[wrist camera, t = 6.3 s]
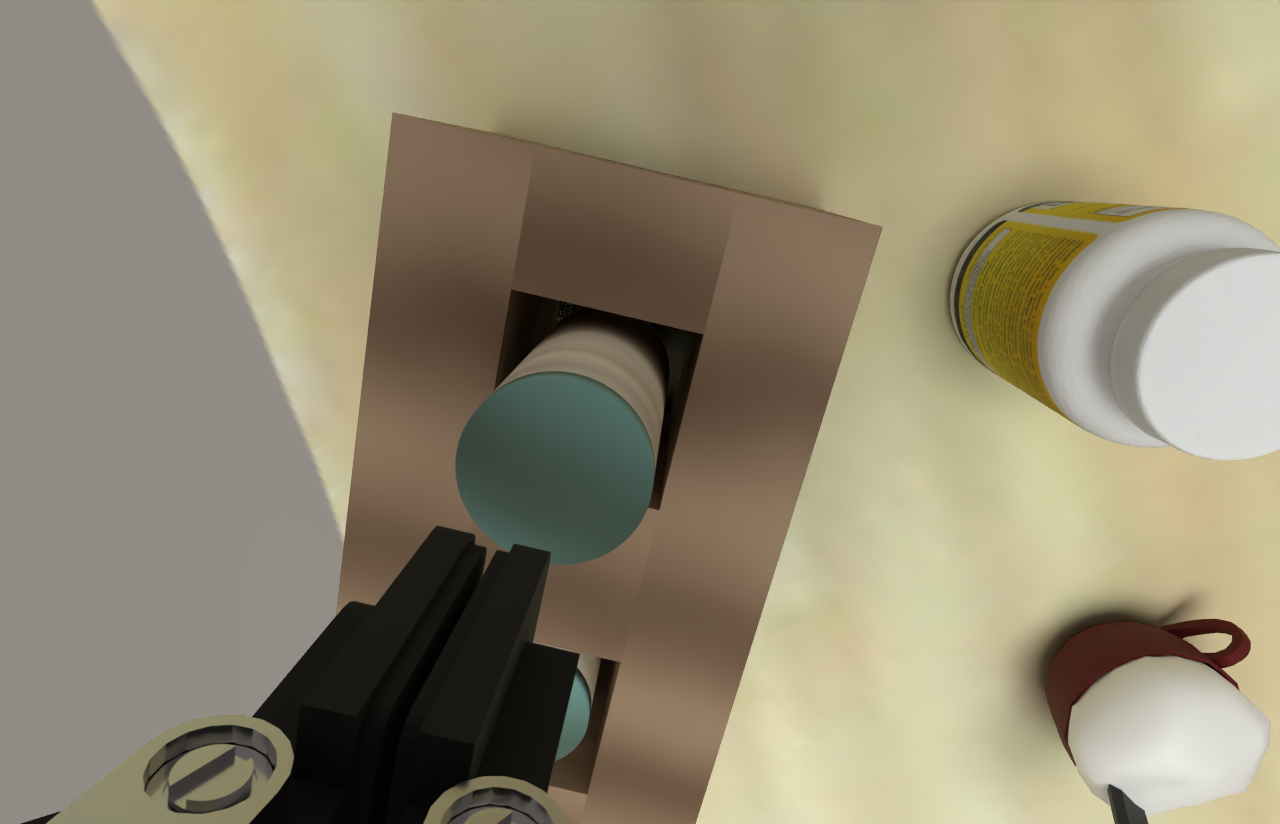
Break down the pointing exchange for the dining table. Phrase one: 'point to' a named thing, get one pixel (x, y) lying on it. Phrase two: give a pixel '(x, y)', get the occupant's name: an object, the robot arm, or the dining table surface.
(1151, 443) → the pill bottle
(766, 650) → the dining table surface
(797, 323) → the socket block
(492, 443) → the peg
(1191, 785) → the cocoa
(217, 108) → the dining table surface
